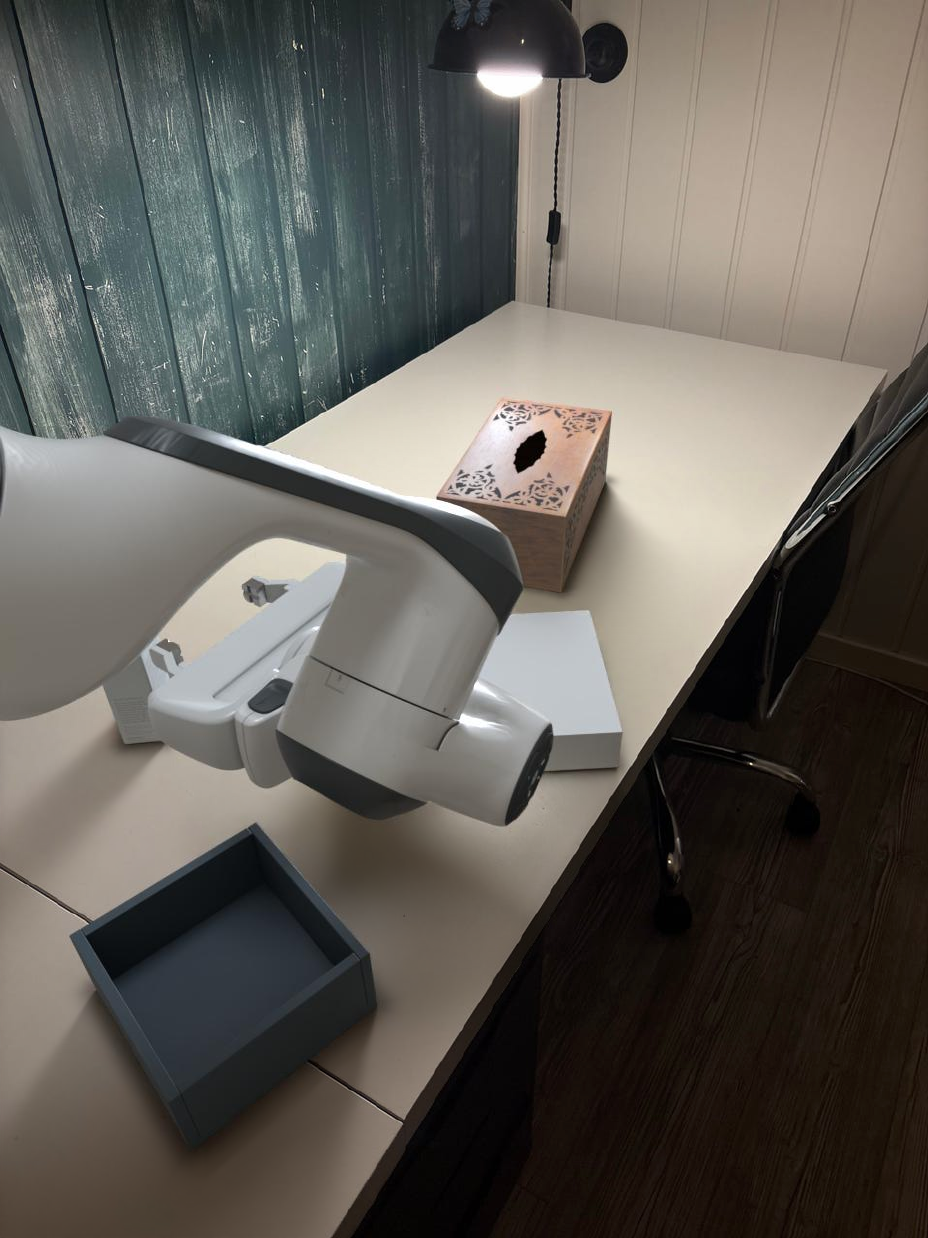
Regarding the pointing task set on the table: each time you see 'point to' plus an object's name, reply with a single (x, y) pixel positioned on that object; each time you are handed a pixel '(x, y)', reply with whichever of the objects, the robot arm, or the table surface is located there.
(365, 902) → the table surface
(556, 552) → the tissue box cover
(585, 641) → the disc drive
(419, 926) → the table surface
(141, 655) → the cosmetic box
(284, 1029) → the bin
